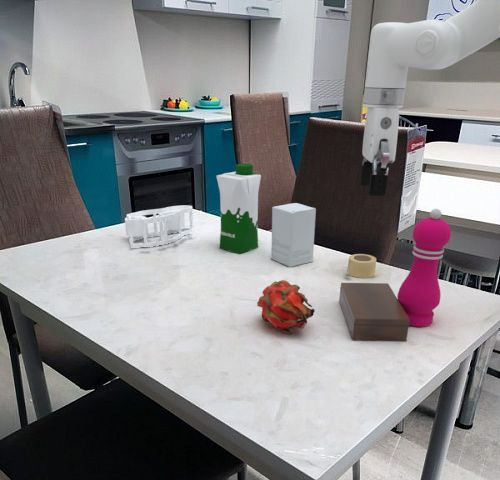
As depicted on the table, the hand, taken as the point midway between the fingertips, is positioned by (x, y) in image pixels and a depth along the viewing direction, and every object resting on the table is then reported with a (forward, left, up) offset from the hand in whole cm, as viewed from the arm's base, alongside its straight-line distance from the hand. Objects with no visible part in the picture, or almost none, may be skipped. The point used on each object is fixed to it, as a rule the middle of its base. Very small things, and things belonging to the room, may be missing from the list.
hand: (371, 190), depth 104 cm
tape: (0, 0, -18) cm, 18 cm away
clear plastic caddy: (+49, -24, -18) cm, 58 cm away
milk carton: (+28, -17, -18) cm, 38 cm away
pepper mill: (-5, +24, -18) cm, 30 cm away
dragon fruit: (+18, +27, -18) cm, 37 cm away
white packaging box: (+15, -8, -19) cm, 25 cm away
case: (+3, +24, -18) cm, 30 cm away
